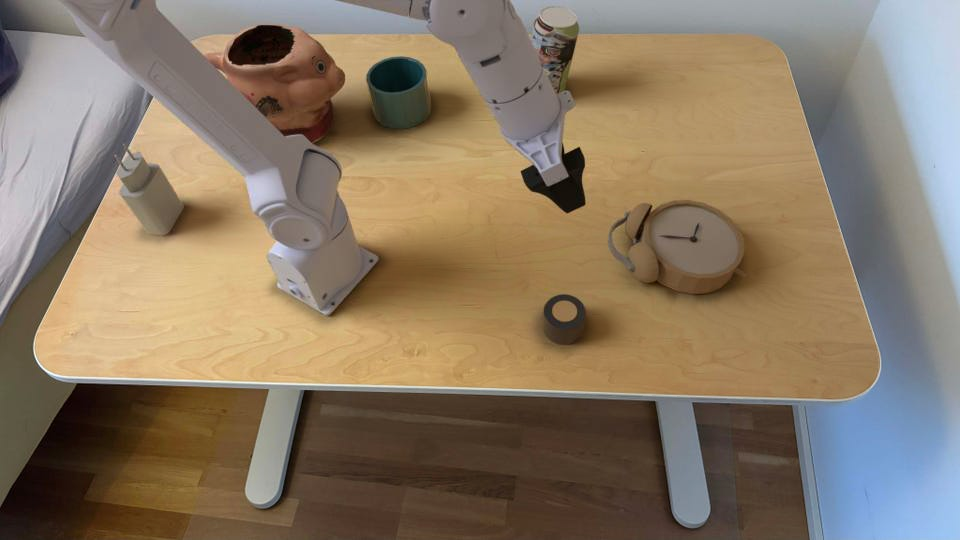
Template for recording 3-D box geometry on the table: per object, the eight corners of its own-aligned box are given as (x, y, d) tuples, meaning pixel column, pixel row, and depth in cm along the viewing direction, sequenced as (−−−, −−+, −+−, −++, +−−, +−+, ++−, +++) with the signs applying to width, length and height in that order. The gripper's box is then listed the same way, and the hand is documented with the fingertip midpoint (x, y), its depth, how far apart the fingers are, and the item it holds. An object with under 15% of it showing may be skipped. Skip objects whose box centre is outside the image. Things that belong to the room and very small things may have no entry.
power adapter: (185, 204, 86) (143, 134, 76) (166, 236, 83) (120, 167, 73) (164, 201, 86) (119, 131, 77) (144, 233, 83) (94, 165, 74)
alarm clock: (755, 282, 71) (618, 263, 70) (734, 307, 75) (604, 289, 74) (739, 204, 77) (613, 185, 76) (721, 230, 81) (601, 212, 80)
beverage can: (516, 85, 97) (515, 10, 87) (560, 70, 98) (564, -5, 88) (536, 110, 93) (538, 36, 83) (582, 94, 95) (588, 19, 85)
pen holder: (408, 136, 91) (402, 102, 86) (362, 116, 94) (353, 82, 89) (442, 102, 95) (438, 67, 90) (397, 84, 98) (390, 49, 93)
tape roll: (571, 351, 70) (573, 335, 68) (535, 333, 72) (535, 316, 69) (590, 321, 72) (593, 304, 70) (555, 304, 74) (556, 287, 71)
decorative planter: (209, 159, 91) (164, 75, 79) (229, 101, 98) (191, 16, 87) (353, 154, 90) (329, 69, 78) (363, 96, 97) (342, 9, 86)
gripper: (577, 106, 50) (625, 213, 60) (533, 14, 60) (581, 119, 70) (495, 148, 52) (555, 245, 62) (465, 51, 61) (521, 149, 71)
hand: (564, 181), depth 66 cm, fingers open, 7 cm apart
